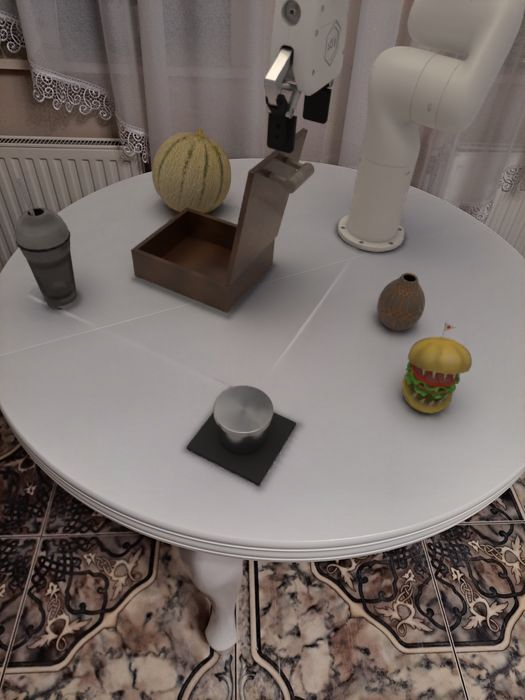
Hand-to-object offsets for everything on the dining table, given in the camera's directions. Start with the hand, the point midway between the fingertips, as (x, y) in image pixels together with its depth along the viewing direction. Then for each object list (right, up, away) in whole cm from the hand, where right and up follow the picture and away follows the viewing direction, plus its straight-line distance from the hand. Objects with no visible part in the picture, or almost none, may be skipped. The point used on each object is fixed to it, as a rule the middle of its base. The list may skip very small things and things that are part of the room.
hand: (298, 134), depth 61 cm
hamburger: (+18, -32, +9) cm, 38 cm away
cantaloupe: (-18, +2, +40) cm, 44 cm away
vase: (+17, -21, +20) cm, 33 cm away
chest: (-14, -13, +26) cm, 32 cm away
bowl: (-7, -36, +2) cm, 37 cm away
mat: (-7, -37, +3) cm, 37 cm away
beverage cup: (-36, -18, +19) cm, 44 cm away
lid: (-4, -5, +12) cm, 14 cm away
